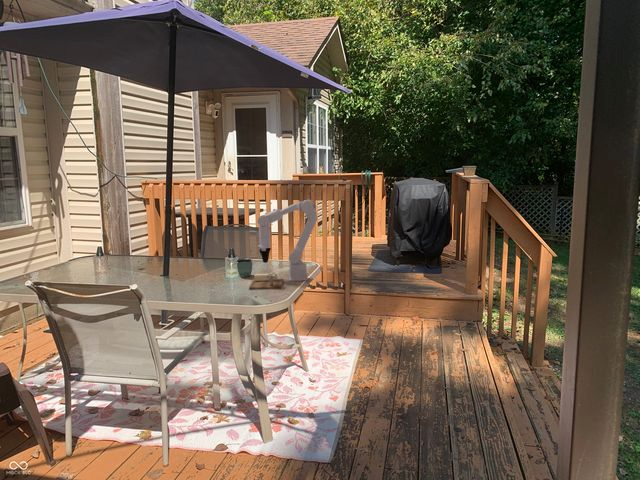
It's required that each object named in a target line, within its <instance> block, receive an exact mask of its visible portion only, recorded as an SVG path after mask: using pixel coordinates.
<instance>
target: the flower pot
mask: <svg viewBox="0 0 640 480" xmlns="http://www.w3.org/2000/svg"><path fill="white" fill-rule="evenodd" d="M236 260H237V261H236ZM236 260H235V261H236V263H235V264H236V269H237V273H238V275H239V276H240V277H241V278H248V277H251V275H252V271H253V260H252V258H246V259H236ZM237 262H238V263H237Z"/></svg>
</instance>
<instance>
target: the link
mask: <svg viewBox="0 0 640 480" xmlns="http://www.w3.org/2000/svg"><path fill="white" fill-rule="evenodd" d="M268 274H269V273H255V274H254V276H253V277H254V278H253V280H254V281H269V278H267V275H268ZM271 274H276V276H275V278H273V281H275V280H277V279H278V274H277V273H276V272H271Z"/></svg>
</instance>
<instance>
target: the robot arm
mask: <svg viewBox="0 0 640 480" xmlns="http://www.w3.org/2000/svg"><path fill="white" fill-rule="evenodd" d="M295 211H299V212H300V211H303V213H304V214H305V217H306V219H307V220H306V223H305V224H304V227H303V228H302V229H303V230H302V232H301V234H300V236H299V238H298V240H297V243H296V245H295V247H294V249H293V250H292V251H291V253H290V254H289V255H288V261H289V269H288V270H289V278H288V281H289V282H295V281H296V282H297V281H298V282H299V281H302V282H303V281H307V277H308V273H307V263H305V262H303V261H302V258H303V252H304V249H305V247H306V245H307V243H308V241H309V238H310V236H311V233H312V232H313V230H314V227H315V225H316V223H317V221H318V213H317V206H316V204H315V202H314V201H313V200H312V199H308V198H307V199H305V200H302V201H299V202H294V203H293V204H291V205H289V206H287V207H284V208H282V209H279V208H274V209H272V211H269V212H265V213H264V214H262V215H260V216H258V218H257V223H258V236H259V239H258V240H259V244H258V245H257V247H258V248H260V249H259V250H258V251H259V253H260V256H261V258H262V263H263V264H264V263H265V264H267V263H268V262H269V258H270V251H271V249H272V248H271V234H270V233H271V232H270V224H272V223H274V222H277V221H280V220H282V219H283V216H285V215H287V214H289V213H292V212H295Z"/></svg>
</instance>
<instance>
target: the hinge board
mask: <svg viewBox="0 0 640 480" xmlns="http://www.w3.org/2000/svg"><path fill="white" fill-rule="evenodd" d="M267 274H268V275H267V278H269V281H254V279H253V280H252V282H251V283H250V285H249V287H248V290H280V289H282V285H283V282H284V278H277V280H275V281H273V278H275V276H276V274H277V273H275V274H272V273H267Z"/></svg>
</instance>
